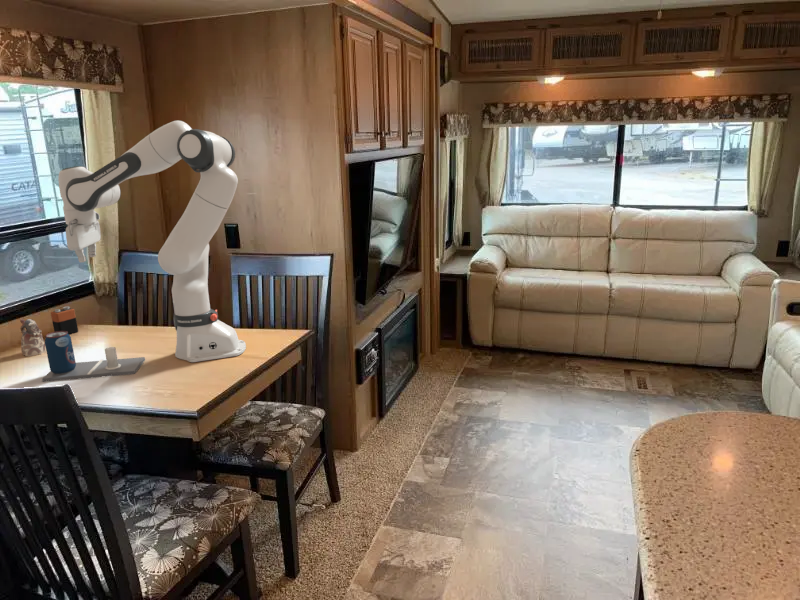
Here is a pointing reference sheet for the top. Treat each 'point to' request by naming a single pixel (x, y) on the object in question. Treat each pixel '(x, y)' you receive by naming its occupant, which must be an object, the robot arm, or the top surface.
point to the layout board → (100, 367)
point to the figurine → (31, 338)
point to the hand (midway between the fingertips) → (87, 259)
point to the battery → (64, 320)
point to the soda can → (60, 352)
